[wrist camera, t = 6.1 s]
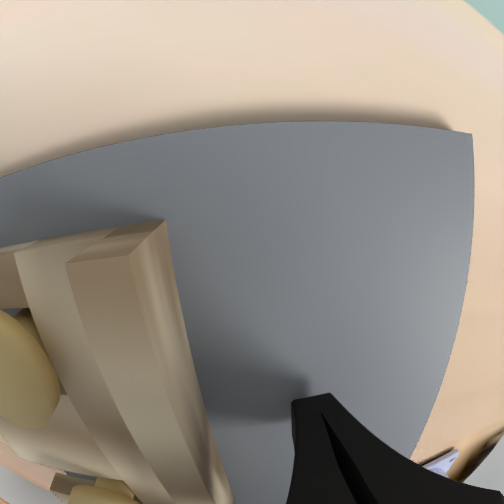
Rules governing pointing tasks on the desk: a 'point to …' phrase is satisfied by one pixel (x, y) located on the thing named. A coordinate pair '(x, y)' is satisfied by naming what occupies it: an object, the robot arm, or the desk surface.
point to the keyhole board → (271, 275)
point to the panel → (115, 366)
